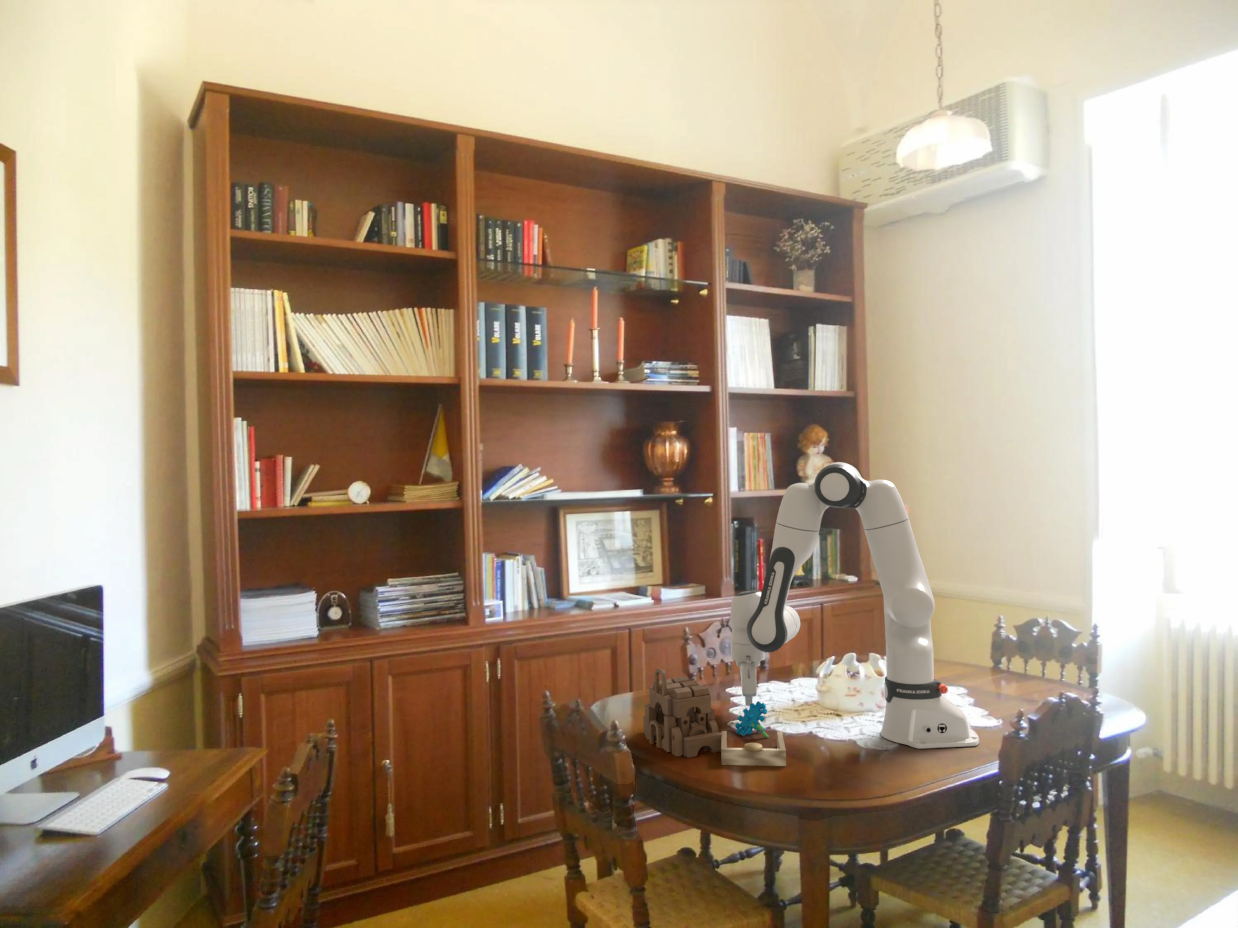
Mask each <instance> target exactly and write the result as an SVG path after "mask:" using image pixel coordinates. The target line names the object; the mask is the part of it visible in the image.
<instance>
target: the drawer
mask: <svg viewBox="0 0 1238 928" xmlns="http://www.w3.org/2000/svg"><path fill="white" fill-rule="evenodd" d="M720 733H721V734H722V737H721V751H720V752H721V755H720V756H721V765H722V766H756V765H757V767H758V766H761V767H762V766H763V767H764V766H765V767H786V766H787V749H786V745H785V741H784V735H783V732H782V731H776V745H777V746H776V747H777V748H765V747H764V748H763V745H762V744H761V743H760V742H759V743H758V742H748V743H745V744H743V745H744V746H743V747H728V741H727V740H728V739H727V737H728V735H727V730H721V732H720Z"/></svg>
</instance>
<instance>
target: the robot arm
mask: <svg viewBox="0 0 1238 928" xmlns="http://www.w3.org/2000/svg"><path fill="white" fill-rule="evenodd" d="M814 479H815V480H814V482H812V483H807V482H797V483H793V484H791V485H789V486H788V487H787V488H786V490H785V492H784V494H783V495H782V498H781V502H780V504H779V505H780V506H779V509H778V512H777V517H776V521H775V526H774V532H773V539H772V544H771V545H772V547H771V552H770V557H769V562H768V565H767V569H766V573H765V577H764V582H763V586H762V590H761V591H760V590H755V589H751V590H744V591H741V592H738V593H736V594H735V595H733V596H732V599H731V602H730V603H731V604H730V622H729V623H730V627H731V636H730V637H731V638H730V658H731V660H733V661H735V665H736V666H737V667H739V674H740V682H741V683H740V684H741V694H742V696H743V697H744V701H745V704H744V705H745V706H748V707H750V704H752V703H753V698H754V697H756V696H757V692H758V689H757V688H758V687H757V684H758V683H757V668H758V667H760V666H761V662H762V661H764V660H765V658H766V655H765V654H766V653H773V652H777V651H778V650H780V649H781V648H782V647H783V646H784V645H785V644H786V643H788V642H789V641H790V640H793V638H795V637H796V636H797V635H798V634H799V632H800V631H801V627H802V622H801V617H800V615H799V613H798V611H797V610H796V609H795V608H794V607H792V606H791V605H788V604H787V599H788V596H789V592H790V587H791V583H792V581H793V579H794V576H795V575H796V574H797V572H798V571H799V569H800V568H801V567H802V566H803V565H804V564H805V563H806V562H807V561H808V560H809V559H810V558H811V557H812V555H813V553H814V551H815V549H816V545H817V542H818V540H819V535H820V529H821V525H822V524H821V523H822V519H823V516H824V513H825V511H826V510H827V509H828V508H829V507H830V508H833V509H834V508H835V509H836V508H837V509H852V510H853V509H855V510H856V511H857V513H858V515H859V517H860V520H861V523H862V527H863V531H864V534H865V538H866V542H867V546H868V548H869V551H870V556H871V559H872V562H873V565H874V569H875V572H876V575H877V579H878V583H879V585H880V589H881V593H882V596H883V612H884V614H883V615H884V616H883V617H884V633H885V634H884V635H885V660H886V661H885V662H886V663H885V664H886V665H885V666H886V667H885V668H886V675H885V677H884V684H883V685H884V690H883V691H884V698H885V709H884V710H885V712H884V717H883V719H884V720H883V723H882V728H881V731H880V735H881V736H882V737H883V738H884V739H886V740H888V741H892V742H895V743H897V744H903V745H907V746H909V747H911V748H915V749H920V750H921V749H937V748H956V747H958V748H959V747H975V746H978V745H979V744H980V738H979V735H978V734H977V732H976V731H975V730H973V729H972V728H970V727H969V723H968V722H969V721H968V718H967V716H966V715H965V713H964V711H962V709H961V708H960V707H959V706H958V705H956V704H955V703H953V702H952V701H951V700H950V699H949V698H947V697H946V696H944V695H946V694H948V692H949V687H948V686H947V685H946V684H945V683H942V682H941V681H939V680H937V678H934V677H935V676H934V674H935V673H934V672H935V671H934V644H933V635H932V634H933V632H932V623H931V622H932V621H931V619H932V617H933V615H934V614H935V610H936V601H935V597H934V595H933V591H932V587H931V584H930V581H929V578H928V575H927V572H926V570H925V566H924V563H923V559H922V558H921V555H920V551H919V548H918V545H917V542H916V537H915V535H914V532H913V528H912V525H911V524H912V523H911V521H910V517H909V515H908V514H909V513H908V511H907V509H906V506H905V503H904V501H903V499H902V496H901V494H900V493H899V490H898V489H897V487H896V485H895V484H894V483H893V482H892V481H889V480H886V479H873V480H867V479H864V477H863V474H862V473H861V471H860V470H859V469H858V468H857V467H856V466H855V465H853V464H851V463H849V462H841V461H837V462H831V463H829V464H827V465H826V466H824V467H823V468H822V469H821V470H819V472H818V473H817V475H816V476H815V478H814ZM943 694H944V695H943Z"/></svg>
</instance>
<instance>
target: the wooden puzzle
mask: <svg viewBox="0 0 1238 928" xmlns="http://www.w3.org/2000/svg"><path fill="white" fill-rule="evenodd" d="M660 677H661V679H660ZM652 684H653V685H652V686H650V687H648V691H649V704H645V705H644V716H643V734H645V735H646V736H645V735H644V736H645V739H646V738H648V739H649V740H648V739H647V740H648V741H649V744H650V743H654V742H655V741H657V742H655V743H656V748H657V747H658V748H661V749H662V748H663V749H664V751H665V750H666V751H665V752H667V753H668V752H670V753H671V754H672V755H673V754H674V755H675V757H676V756H677V757H681V756H680V755H683V757H685V758H687V759H689V758H694V757H698V753H699V751H700V750H701V749H702V750H703V751H705V750H706V751H709V752H711V753H712V754H713V753H718V752H721V737H722V734H721V733H722V732H719V727H718V723H717V721H716V720H715V719H716V716H715V709H712V699H711V698H712V697H711V693H710V690H709V688H708V686H707V684H700V685H699V683H698V682H697V681H696V680H695V679H694V680H690V679H689V677H688V676H686V675H685V676H679V677H673V678H667V674H666V672H665V670H664V669H662V668H656V669H655V670H654V681H653V683H652ZM655 743H654V744H655ZM658 748H657V749H658ZM663 749H662V750H663ZM674 755H673V756H674Z"/></svg>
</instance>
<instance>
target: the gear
mask: <svg viewBox="0 0 1238 928" xmlns="http://www.w3.org/2000/svg"><path fill="white" fill-rule="evenodd" d="M767 712H768V709H767V705H766V703H764V702H762V703H761V701H756V703H754V702H752V704H750V706H749V708H747V707H745V708H743V710H742V713H743V716H742V715H741V714H740V715H739V716H738V717H737V718H736V719H737V720H738V721H739V722H740V723H739V722H735V725H734V727H735V728H736V729H735V732H736V734H738V735H741V736H742V737H745V736H746V734H747V735H752V734H753V731H754V730H755V731H756V732H757V733H758V734H759V735H761V734H762V735H763V737H765V738H766V739H769V734H767V732H765V731H766V728H765V727H764V726H763V725H762V724H761V723H763V722H764V721H765V719H766V717H765V716H763V715H766V714H767ZM762 714H763V715H762ZM760 722H761V723H760Z"/></svg>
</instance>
